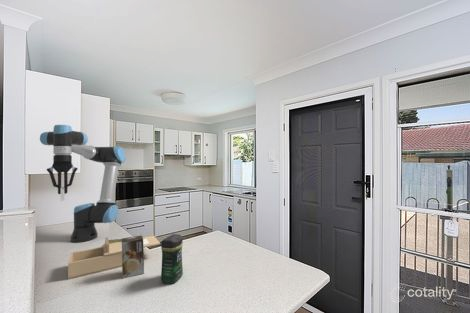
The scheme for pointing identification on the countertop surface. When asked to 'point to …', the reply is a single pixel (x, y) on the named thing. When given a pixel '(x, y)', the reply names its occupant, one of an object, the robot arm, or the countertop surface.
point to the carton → (114, 241)
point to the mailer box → (92, 262)
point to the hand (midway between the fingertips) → (62, 200)
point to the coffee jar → (171, 259)
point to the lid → (117, 246)
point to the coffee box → (132, 256)
